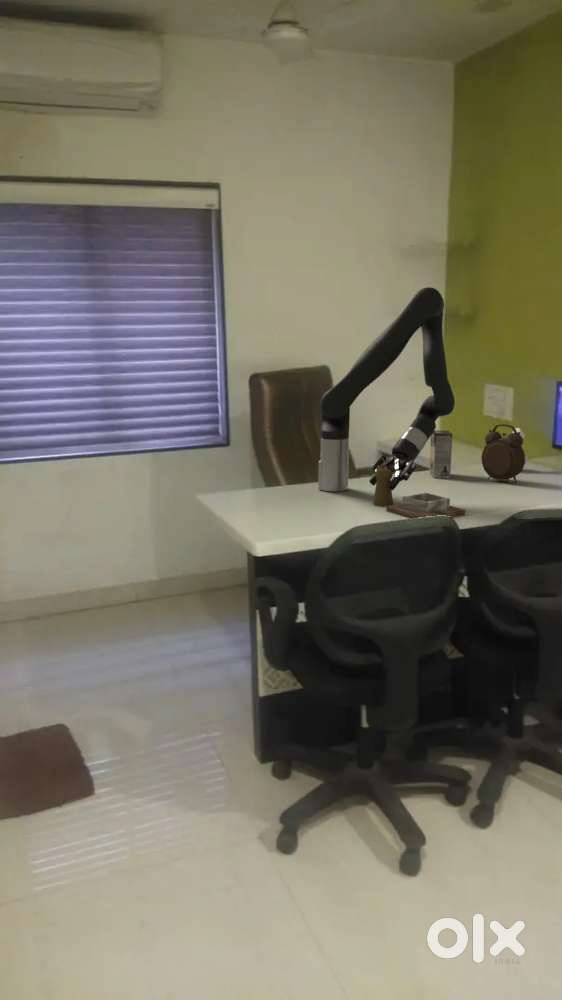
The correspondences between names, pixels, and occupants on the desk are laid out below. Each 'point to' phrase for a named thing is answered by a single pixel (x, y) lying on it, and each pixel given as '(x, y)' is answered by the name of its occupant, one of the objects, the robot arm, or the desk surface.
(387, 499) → the cork
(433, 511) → the mount board
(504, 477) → the alarm clock
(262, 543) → the desk surface
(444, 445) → the coffee box
